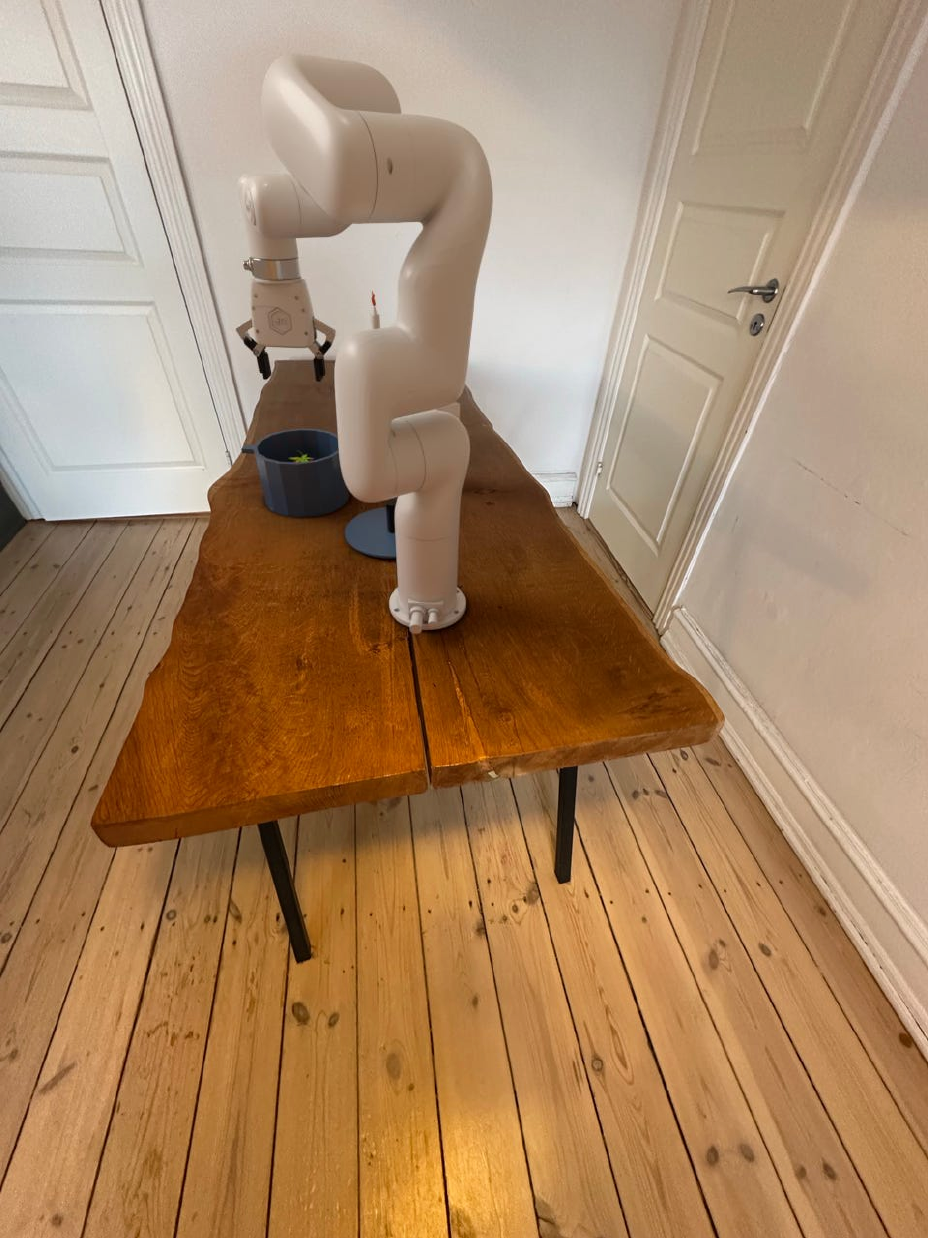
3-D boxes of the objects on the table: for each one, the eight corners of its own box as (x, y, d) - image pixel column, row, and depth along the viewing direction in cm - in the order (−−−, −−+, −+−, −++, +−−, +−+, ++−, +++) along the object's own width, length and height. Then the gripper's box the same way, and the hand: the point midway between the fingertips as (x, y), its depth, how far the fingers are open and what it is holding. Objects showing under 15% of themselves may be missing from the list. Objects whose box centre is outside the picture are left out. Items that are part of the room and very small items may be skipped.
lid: (439, 563, 100) (439, 529, 96) (337, 559, 100) (332, 525, 96) (442, 512, 115) (443, 481, 110) (354, 509, 114) (350, 477, 110)
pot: (354, 519, 111) (349, 466, 104) (241, 515, 111) (227, 461, 103) (367, 480, 125) (363, 430, 117) (265, 476, 124) (255, 426, 117)
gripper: (216, 271, 87) (240, 383, 98) (324, 276, 88) (336, 386, 99) (231, 264, 93) (252, 370, 104) (333, 268, 93) (344, 374, 104)
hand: (293, 378), depth 101 cm, fingers open, 9 cm apart
